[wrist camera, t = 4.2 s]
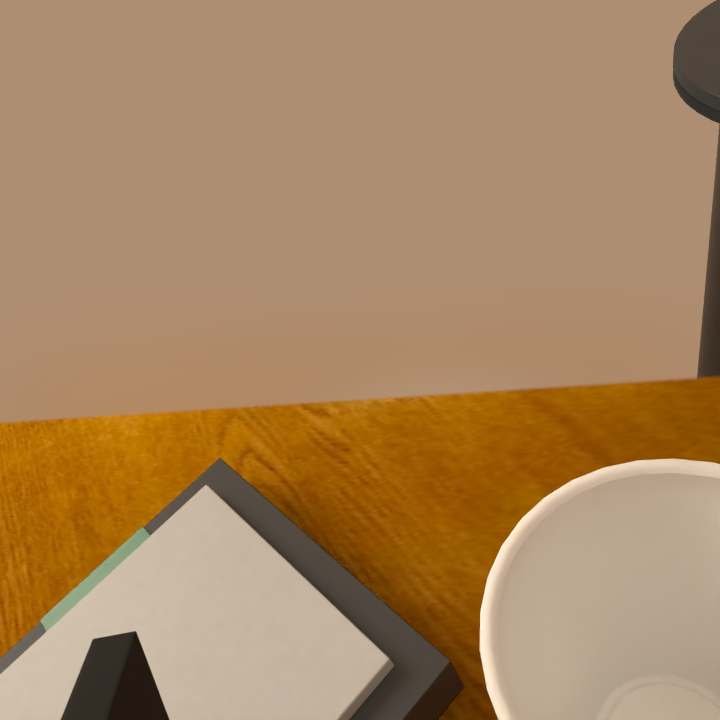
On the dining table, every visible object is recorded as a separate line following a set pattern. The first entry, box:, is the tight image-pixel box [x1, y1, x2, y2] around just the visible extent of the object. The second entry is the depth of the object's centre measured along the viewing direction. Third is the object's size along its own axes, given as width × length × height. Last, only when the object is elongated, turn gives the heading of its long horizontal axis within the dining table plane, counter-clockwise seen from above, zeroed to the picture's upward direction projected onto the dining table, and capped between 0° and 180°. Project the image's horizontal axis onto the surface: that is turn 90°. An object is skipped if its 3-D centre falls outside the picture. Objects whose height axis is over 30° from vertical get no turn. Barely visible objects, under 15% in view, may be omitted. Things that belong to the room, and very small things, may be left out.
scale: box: [0, 458, 464, 720], centre depth 28 cm, size 16×16×4 cm
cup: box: [480, 459, 720, 720], centre depth 20 cm, size 10×10×11 cm
